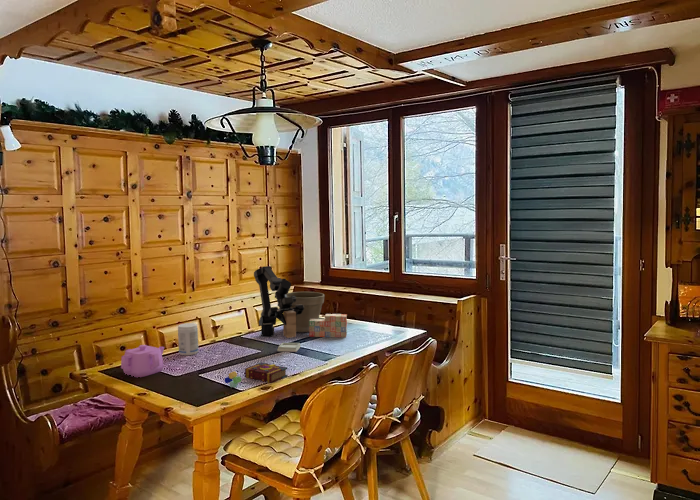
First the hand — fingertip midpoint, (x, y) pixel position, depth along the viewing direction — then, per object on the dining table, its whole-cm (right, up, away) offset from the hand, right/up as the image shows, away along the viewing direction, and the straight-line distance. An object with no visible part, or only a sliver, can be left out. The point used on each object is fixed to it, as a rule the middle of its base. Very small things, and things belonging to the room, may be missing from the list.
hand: (290, 324), depth 281 cm
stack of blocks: (+18, -11, +31) cm, 38 cm away
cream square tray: (-1, -13, +2) cm, 14 cm away
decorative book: (-6, -18, -44) cm, 48 cm away
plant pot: (+3, -10, +46) cm, 47 cm away
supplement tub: (-51, -14, -6) cm, 54 cm away
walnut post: (-1, -7, +2) cm, 7 cm away
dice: (-18, -18, -56) cm, 62 cm away
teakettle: (-63, -17, -36) cm, 74 cm away
